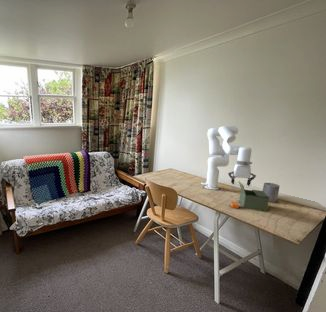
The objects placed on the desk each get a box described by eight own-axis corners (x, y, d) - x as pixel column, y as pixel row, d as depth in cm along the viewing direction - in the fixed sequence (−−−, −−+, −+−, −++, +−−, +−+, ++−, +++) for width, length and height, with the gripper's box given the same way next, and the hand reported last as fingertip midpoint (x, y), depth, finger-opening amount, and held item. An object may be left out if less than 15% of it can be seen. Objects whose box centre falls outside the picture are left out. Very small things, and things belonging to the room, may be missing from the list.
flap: (245, 194, 145) (245, 194, 145) (241, 188, 156) (240, 188, 156) (243, 185, 144) (242, 186, 145) (238, 180, 156) (238, 180, 156)
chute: (243, 207, 147) (245, 194, 145) (239, 201, 158) (241, 188, 156) (266, 211, 141) (269, 197, 139) (260, 204, 152) (262, 190, 150)
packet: (238, 208, 146) (238, 205, 145) (232, 207, 147) (232, 204, 147) (236, 205, 151) (236, 202, 150) (230, 204, 153) (230, 201, 152)
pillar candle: (259, 196, 166) (262, 180, 163) (274, 198, 161) (277, 182, 158) (263, 201, 158) (266, 184, 155) (278, 203, 153) (282, 185, 150)
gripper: (255, 163, 144) (252, 184, 147) (228, 161, 151) (225, 181, 154) (259, 165, 137) (256, 187, 140) (230, 163, 144) (228, 184, 147)
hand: (240, 184), depth 147 cm, fingers open, 9 cm apart
